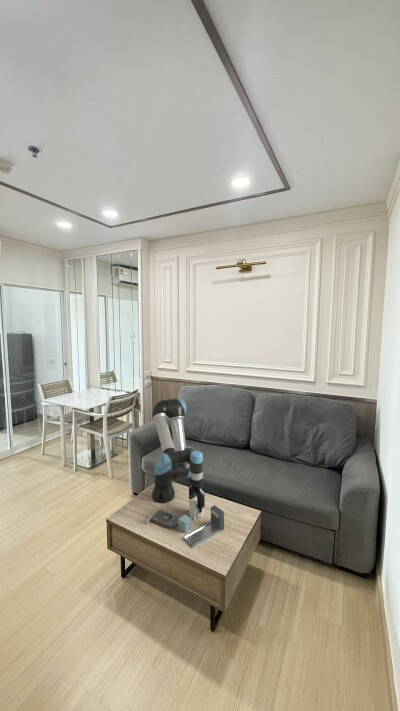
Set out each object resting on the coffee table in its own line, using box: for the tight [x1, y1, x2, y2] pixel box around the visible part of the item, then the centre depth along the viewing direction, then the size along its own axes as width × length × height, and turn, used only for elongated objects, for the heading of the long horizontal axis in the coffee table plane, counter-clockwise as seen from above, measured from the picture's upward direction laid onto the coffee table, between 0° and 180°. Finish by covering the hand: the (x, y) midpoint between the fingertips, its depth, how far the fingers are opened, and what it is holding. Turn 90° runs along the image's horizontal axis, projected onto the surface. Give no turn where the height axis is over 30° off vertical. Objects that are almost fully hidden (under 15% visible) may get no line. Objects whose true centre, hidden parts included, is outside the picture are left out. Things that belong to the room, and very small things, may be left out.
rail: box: [183, 504, 225, 549], centre depth 158 cm, size 8×22×10 cm, turn 128°
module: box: [188, 496, 205, 521], centre depth 173 cm, size 5×7×10 cm
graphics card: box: [146, 507, 180, 529], centre depth 168 cm, size 17×4×12 cm
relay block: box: [178, 514, 192, 534], centre depth 162 cm, size 5×5×6 cm
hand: (196, 514), depth 173 cm, fingers open, 5 cm apart
